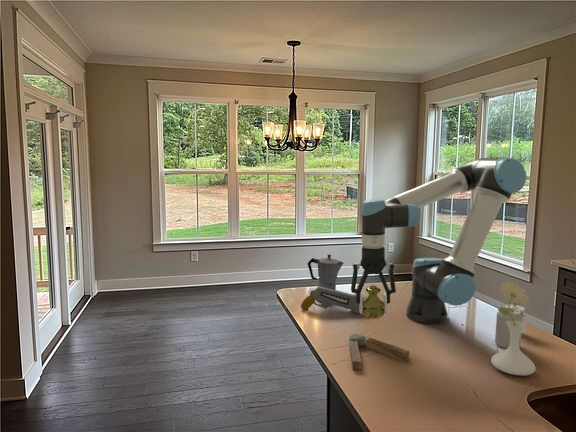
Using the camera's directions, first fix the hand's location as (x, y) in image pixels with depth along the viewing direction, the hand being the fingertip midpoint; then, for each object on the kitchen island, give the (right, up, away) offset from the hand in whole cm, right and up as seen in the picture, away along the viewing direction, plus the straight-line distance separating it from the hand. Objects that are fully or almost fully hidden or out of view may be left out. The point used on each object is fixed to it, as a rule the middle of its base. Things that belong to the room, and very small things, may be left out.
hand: (372, 312), depth 142 cm
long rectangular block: (+2, -10, -11) cm, 15 cm away
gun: (-10, -6, +26) cm, 28 cm away
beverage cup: (+51, -8, +6) cm, 52 cm away
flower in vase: (+36, -12, -21) cm, 43 cm away
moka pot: (-13, -4, +40) cm, 42 cm away
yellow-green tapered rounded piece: (0, -1, 0) cm, 1 cm away
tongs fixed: (-7, -10, -13) cm, 18 cm away
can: (+43, -10, -5) cm, 44 cm away
